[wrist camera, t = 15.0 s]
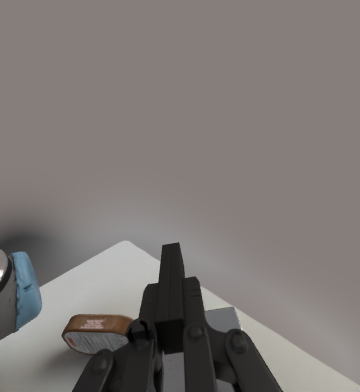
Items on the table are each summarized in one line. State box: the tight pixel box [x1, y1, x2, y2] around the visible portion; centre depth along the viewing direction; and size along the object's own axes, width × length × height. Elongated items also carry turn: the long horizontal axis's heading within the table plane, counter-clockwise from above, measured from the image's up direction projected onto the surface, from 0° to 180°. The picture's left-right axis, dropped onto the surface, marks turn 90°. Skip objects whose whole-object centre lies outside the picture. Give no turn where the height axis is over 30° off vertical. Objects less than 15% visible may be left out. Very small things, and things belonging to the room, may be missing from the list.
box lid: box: [162, 307, 243, 392], centre depth 16 cm, size 13×12×1 cm
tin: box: [62, 314, 134, 355], centre depth 31 cm, size 15×3×8 cm, turn 83°
